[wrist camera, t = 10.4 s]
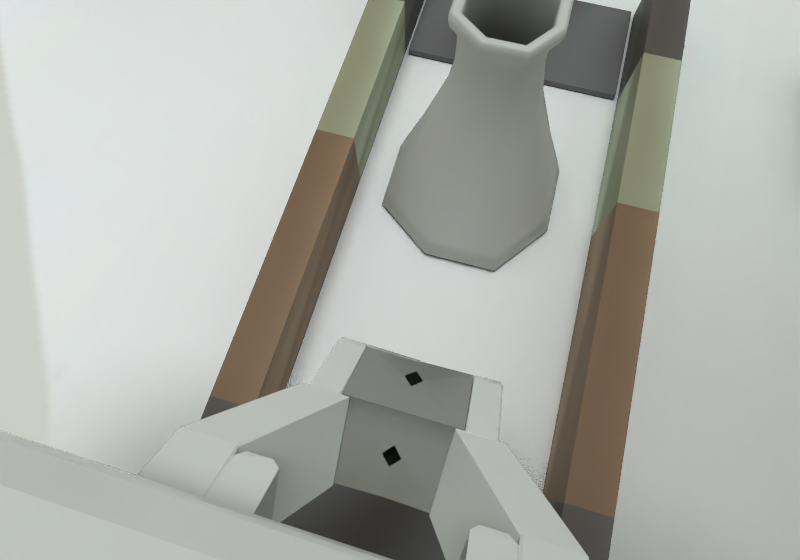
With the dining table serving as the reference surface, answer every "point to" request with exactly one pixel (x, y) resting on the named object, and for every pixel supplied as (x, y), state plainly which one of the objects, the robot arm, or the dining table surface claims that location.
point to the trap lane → (603, 280)
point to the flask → (484, 138)
